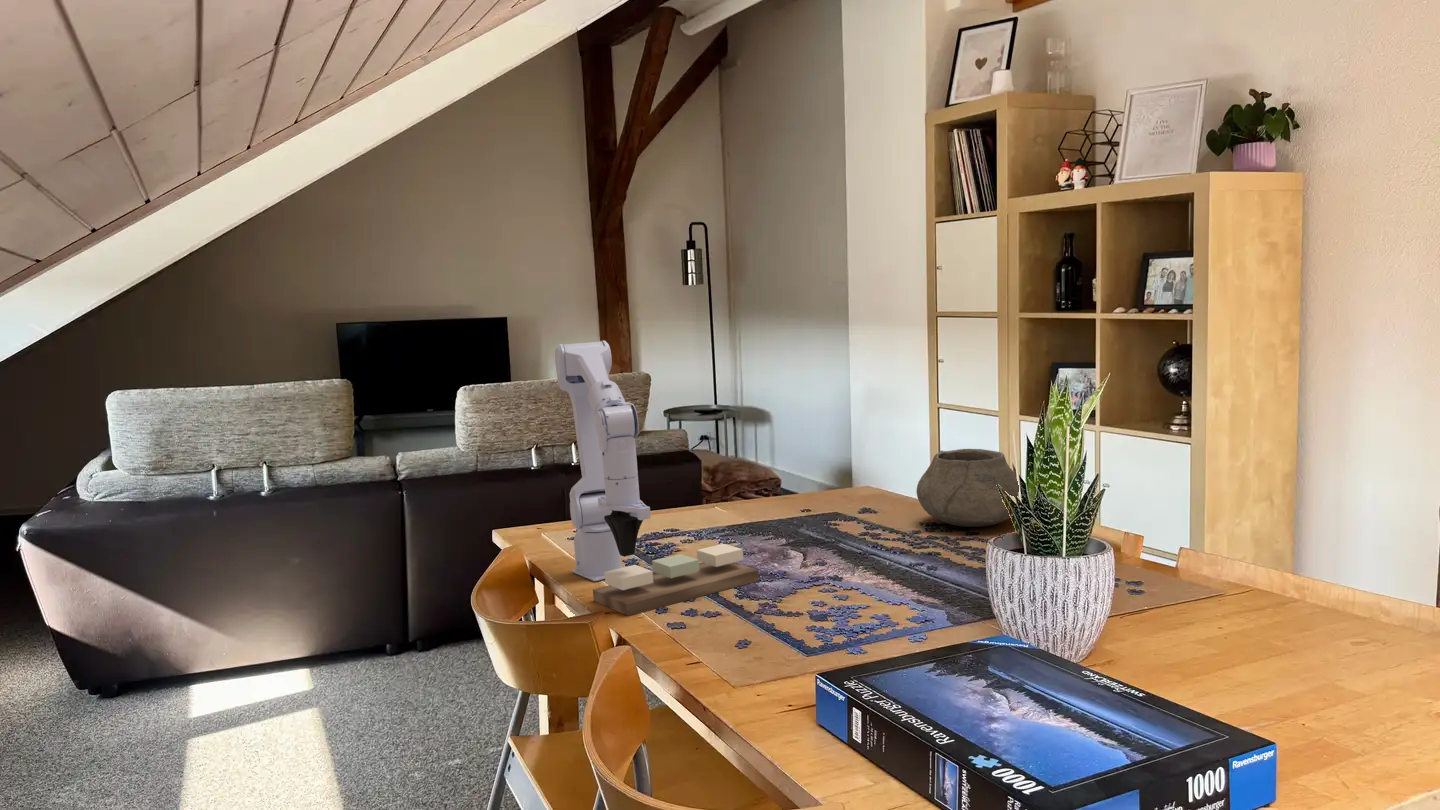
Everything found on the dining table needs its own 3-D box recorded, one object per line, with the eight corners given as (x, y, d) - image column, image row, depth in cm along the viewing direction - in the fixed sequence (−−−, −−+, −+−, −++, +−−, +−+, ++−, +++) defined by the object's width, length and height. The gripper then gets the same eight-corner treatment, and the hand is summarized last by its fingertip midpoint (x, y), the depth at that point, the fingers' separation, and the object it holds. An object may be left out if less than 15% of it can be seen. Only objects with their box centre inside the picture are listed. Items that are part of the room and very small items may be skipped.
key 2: (697, 560, 190) (696, 550, 189) (724, 554, 193) (723, 543, 193) (716, 566, 185) (715, 555, 184) (743, 559, 188) (742, 549, 188)
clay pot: (1022, 512, 226) (1020, 443, 224) (1028, 536, 205) (1025, 461, 203) (920, 513, 231) (917, 446, 229) (915, 537, 210) (912, 464, 208)
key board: (593, 600, 181) (592, 589, 181) (720, 568, 196) (720, 558, 196) (628, 616, 171) (627, 604, 171) (759, 580, 187) (758, 569, 186)
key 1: (605, 583, 179) (604, 571, 179) (635, 575, 182) (634, 564, 182) (622, 590, 174) (621, 578, 174) (653, 582, 177) (652, 571, 177)
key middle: (652, 571, 184) (651, 560, 184) (681, 564, 188) (680, 553, 187) (670, 578, 179) (669, 566, 179) (699, 570, 183) (698, 559, 183)
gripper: (580, 475, 180) (586, 552, 181) (621, 485, 168) (627, 567, 169) (615, 469, 184) (621, 544, 185) (658, 478, 172) (664, 558, 173)
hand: (627, 554), depth 178 cm, fingers closed
